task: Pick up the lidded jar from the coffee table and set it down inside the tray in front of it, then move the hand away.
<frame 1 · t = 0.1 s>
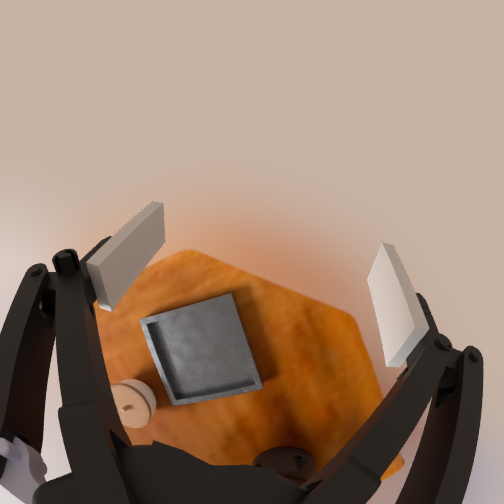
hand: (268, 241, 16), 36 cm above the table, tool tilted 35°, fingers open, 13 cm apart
tray: (202, 351, 51), on the table
lidded jar: (142, 393, 52), on the table
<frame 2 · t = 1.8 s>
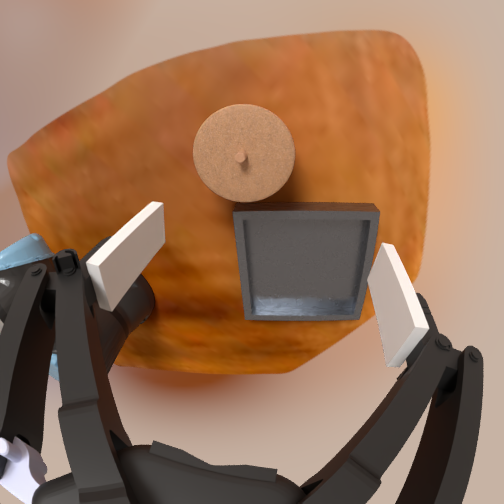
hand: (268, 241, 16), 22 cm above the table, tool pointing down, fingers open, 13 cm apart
tray: (305, 261, 41), on the table
lidded jar: (251, 143, 33), on the table
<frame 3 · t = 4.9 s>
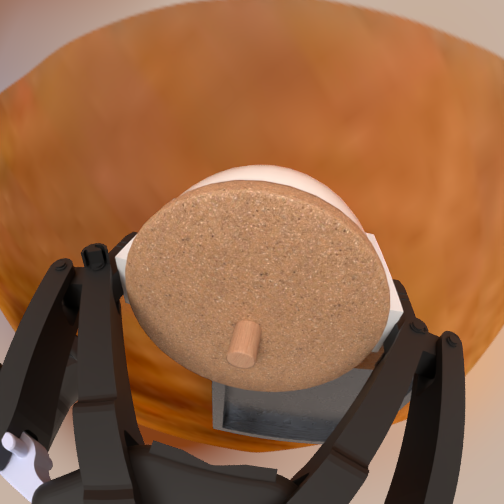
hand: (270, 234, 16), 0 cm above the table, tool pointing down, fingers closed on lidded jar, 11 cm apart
tray: (308, 391, 26), on the table
lidded jar: (271, 229, 17), on the table, touching gripper
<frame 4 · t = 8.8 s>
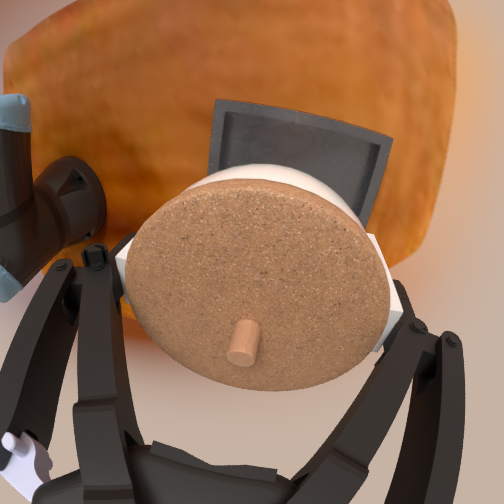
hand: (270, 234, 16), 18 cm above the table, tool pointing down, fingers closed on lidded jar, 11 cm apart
tray: (290, 188, 33), on the table
lidded jar: (271, 228, 17), point 17 cm above the table, touching gripper
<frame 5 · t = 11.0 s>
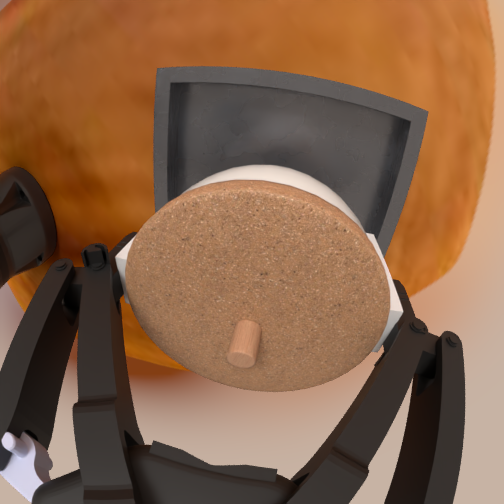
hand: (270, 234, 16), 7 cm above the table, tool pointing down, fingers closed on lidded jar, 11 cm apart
tray: (277, 191, 22), on the table
lidded jar: (271, 229, 17), point 7 cm above the table, touching gripper
when the fingers open (3 cm above the table, at t = 12.8 s): lidded jar drops 2 cm, resting on tray.
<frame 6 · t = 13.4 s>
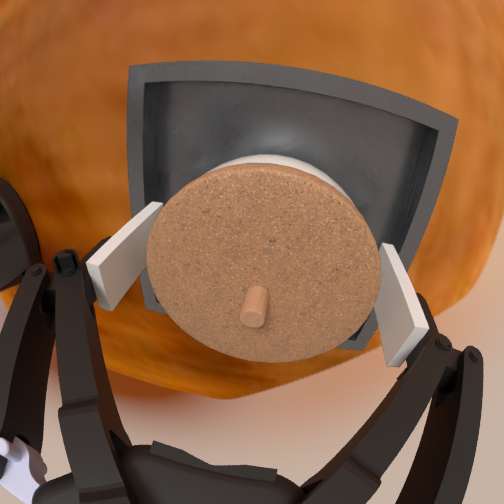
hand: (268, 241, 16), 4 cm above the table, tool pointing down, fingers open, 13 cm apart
tray: (275, 211, 19), on the table
lidded jar: (274, 216, 18), point 1 cm above the table, touching tray
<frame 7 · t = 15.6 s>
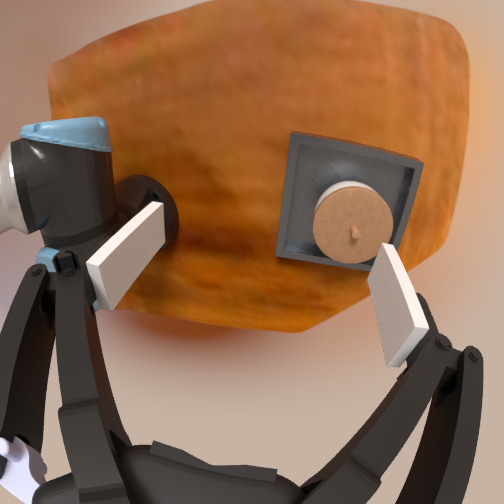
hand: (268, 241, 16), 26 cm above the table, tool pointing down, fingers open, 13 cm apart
tray: (345, 203, 40), on the table
lidded jar: (346, 205, 39), point 1 cm above the table, touching tray
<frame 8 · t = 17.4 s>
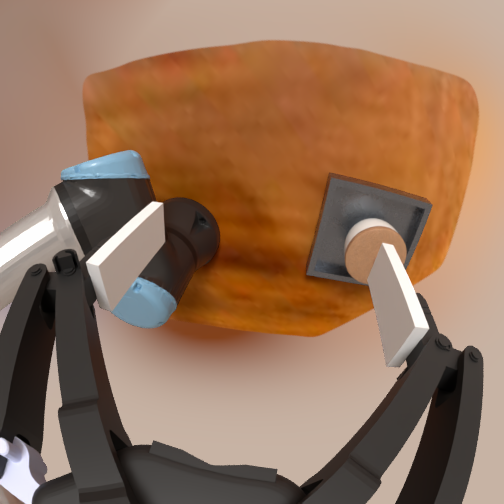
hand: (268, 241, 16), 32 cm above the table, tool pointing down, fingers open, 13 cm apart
tray: (366, 233, 48), on the table
lidded jar: (367, 234, 47), point 1 cm above the table, touching tray
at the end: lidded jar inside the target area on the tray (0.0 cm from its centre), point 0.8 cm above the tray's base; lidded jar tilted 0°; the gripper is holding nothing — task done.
